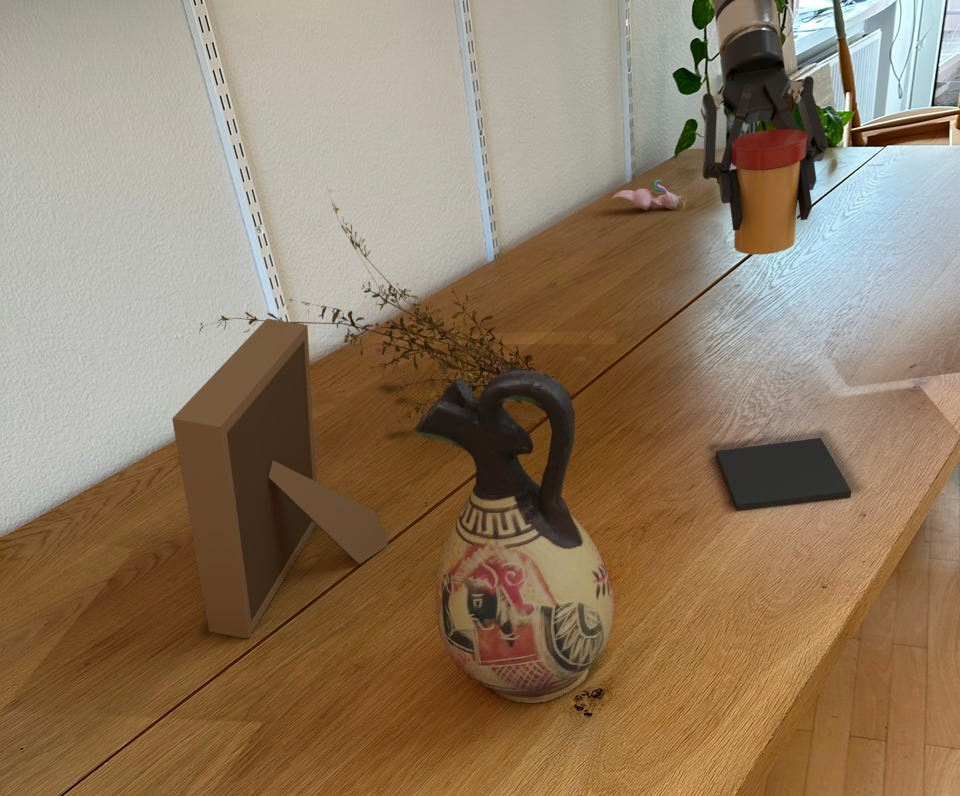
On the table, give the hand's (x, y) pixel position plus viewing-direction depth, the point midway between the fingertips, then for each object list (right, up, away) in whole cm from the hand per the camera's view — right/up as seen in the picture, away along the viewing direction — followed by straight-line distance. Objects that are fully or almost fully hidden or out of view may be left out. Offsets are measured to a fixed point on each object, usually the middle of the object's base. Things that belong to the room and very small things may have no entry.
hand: (772, 219), depth 112 cm
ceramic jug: (-31, -56, -30) cm, 70 cm away
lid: (-1, +8, -2) cm, 9 cm away
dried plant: (-45, -25, +10) cm, 52 cm away
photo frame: (-55, -46, -12) cm, 72 cm away
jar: (+1, -1, +5) cm, 5 cm away
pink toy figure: (-2, +35, +71) cm, 79 cm away
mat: (-3, -34, -11) cm, 36 cm away
